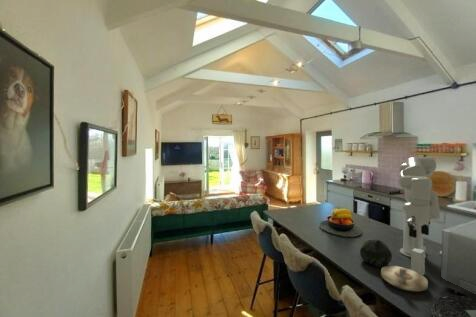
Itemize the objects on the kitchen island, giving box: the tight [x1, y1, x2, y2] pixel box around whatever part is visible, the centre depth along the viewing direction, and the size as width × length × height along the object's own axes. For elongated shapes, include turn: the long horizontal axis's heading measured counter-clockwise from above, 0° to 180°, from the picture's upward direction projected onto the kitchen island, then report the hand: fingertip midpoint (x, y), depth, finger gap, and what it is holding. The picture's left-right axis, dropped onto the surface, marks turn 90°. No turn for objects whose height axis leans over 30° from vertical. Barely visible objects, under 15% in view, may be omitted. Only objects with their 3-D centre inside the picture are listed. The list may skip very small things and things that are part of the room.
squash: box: [359, 239, 393, 268], centre depth 127 cm, size 14×15×15 cm
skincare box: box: [410, 248, 426, 276], centre depth 117 cm, size 6×4×12 cm
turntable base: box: [387, 282, 421, 293], centre depth 109 cm, size 14×14×2 cm
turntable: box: [380, 265, 429, 292], centre depth 109 cm, size 18×18×8 cm
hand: (418, 235), depth 117 cm, fingers open, 9 cm apart
